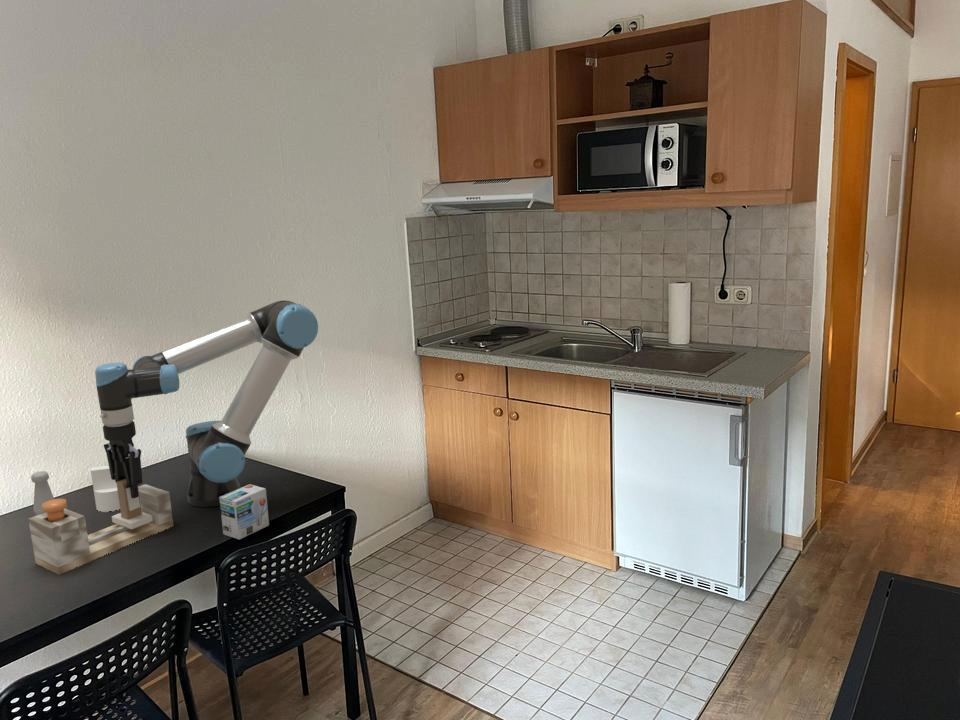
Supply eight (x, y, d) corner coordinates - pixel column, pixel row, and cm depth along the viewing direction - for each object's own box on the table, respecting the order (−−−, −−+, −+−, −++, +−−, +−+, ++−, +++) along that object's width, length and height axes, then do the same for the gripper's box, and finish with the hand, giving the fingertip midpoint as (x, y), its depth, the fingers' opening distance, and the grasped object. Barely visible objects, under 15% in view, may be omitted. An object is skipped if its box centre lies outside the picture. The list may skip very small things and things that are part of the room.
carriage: (133, 513, 206) (127, 473, 204) (152, 520, 201) (147, 480, 199) (112, 521, 202) (106, 481, 199) (131, 529, 197) (125, 487, 194)
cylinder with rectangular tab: (132, 497, 227) (126, 460, 224) (128, 509, 218) (122, 470, 216) (99, 502, 224) (93, 464, 221) (94, 514, 216) (88, 474, 213)
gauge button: (62, 517, 188) (59, 497, 187) (73, 521, 185) (70, 501, 184) (41, 525, 184) (37, 504, 183) (52, 529, 181) (48, 508, 180)
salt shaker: (47, 520, 212) (40, 477, 209) (29, 519, 213) (22, 476, 210) (62, 511, 218) (55, 469, 215) (45, 510, 219) (38, 468, 216)
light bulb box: (239, 540, 196) (235, 501, 194) (222, 535, 200) (217, 496, 197) (270, 524, 205) (266, 487, 203) (253, 519, 208) (249, 483, 206)
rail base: (149, 517, 212) (144, 477, 209) (173, 526, 206) (168, 484, 203) (35, 563, 187) (28, 518, 184) (59, 574, 181) (51, 528, 178)
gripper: (87, 422, 197) (100, 506, 202) (122, 431, 188) (135, 518, 193) (114, 414, 203) (126, 496, 208) (150, 423, 194) (161, 508, 199)
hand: (130, 507), depth 201 cm, fingers closed on carriage, 3 cm apart
